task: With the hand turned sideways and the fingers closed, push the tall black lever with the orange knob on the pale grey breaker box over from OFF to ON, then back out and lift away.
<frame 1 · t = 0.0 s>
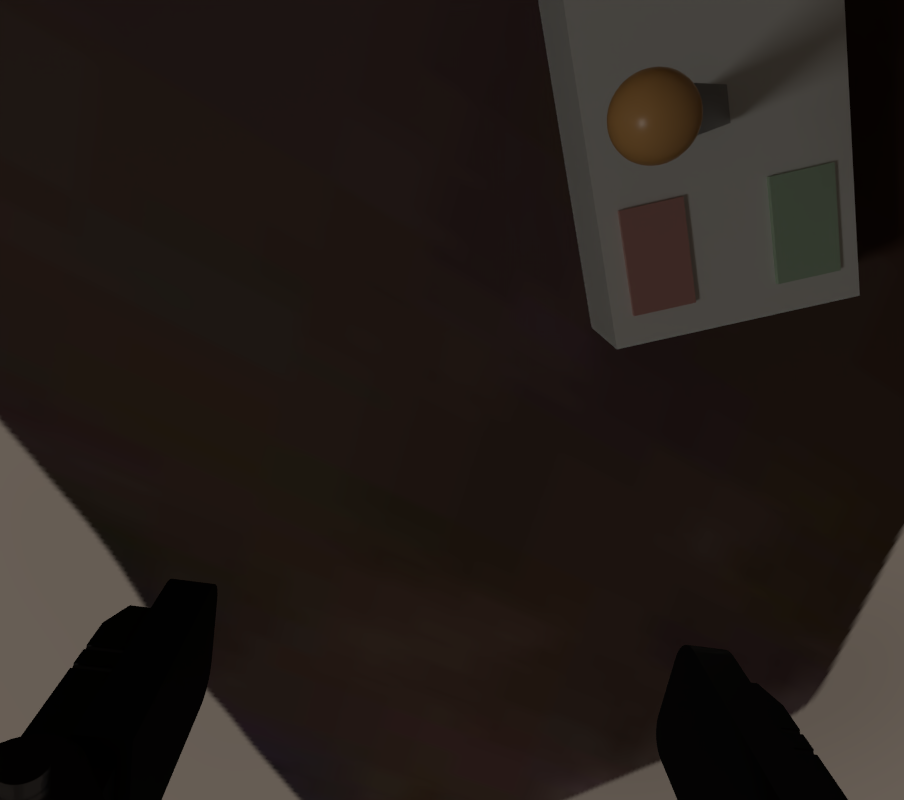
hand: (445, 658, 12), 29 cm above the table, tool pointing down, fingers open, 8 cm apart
breaker box: (674, 117, 38), on the table
breaker lever: (688, 111, 26), point 13 cm above the table, hinge at -28.0°
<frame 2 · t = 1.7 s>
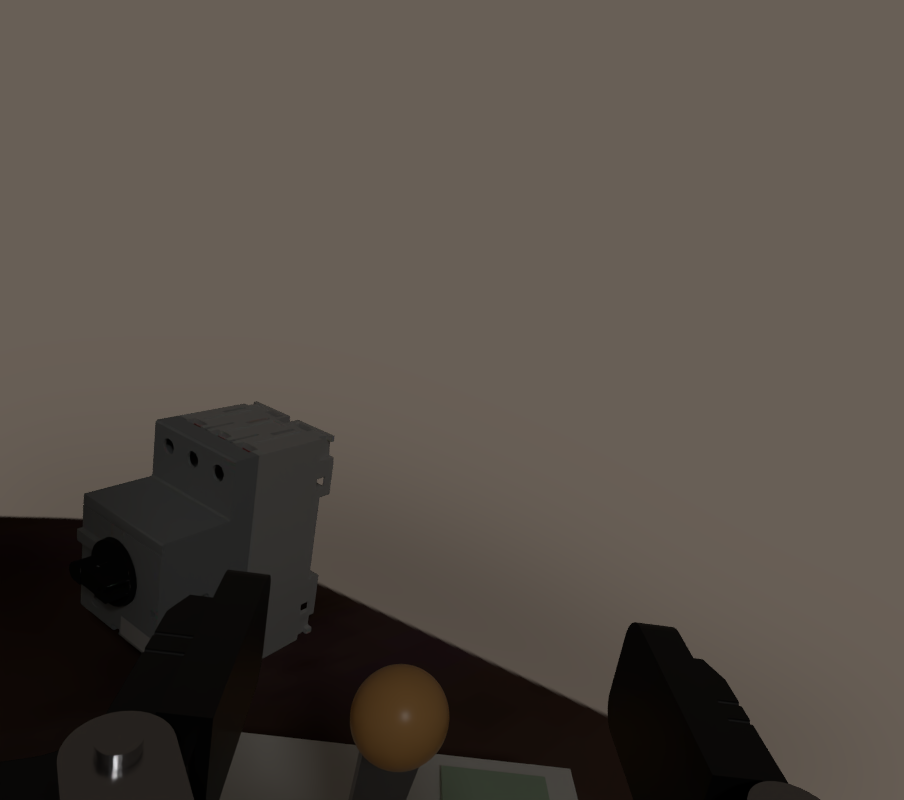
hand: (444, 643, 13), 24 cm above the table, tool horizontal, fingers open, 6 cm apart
circuit breaker: (191, 651, 48), on the table
breaker lever: (376, 793, 23), point 13 cm above the table, hinge at -28.0°
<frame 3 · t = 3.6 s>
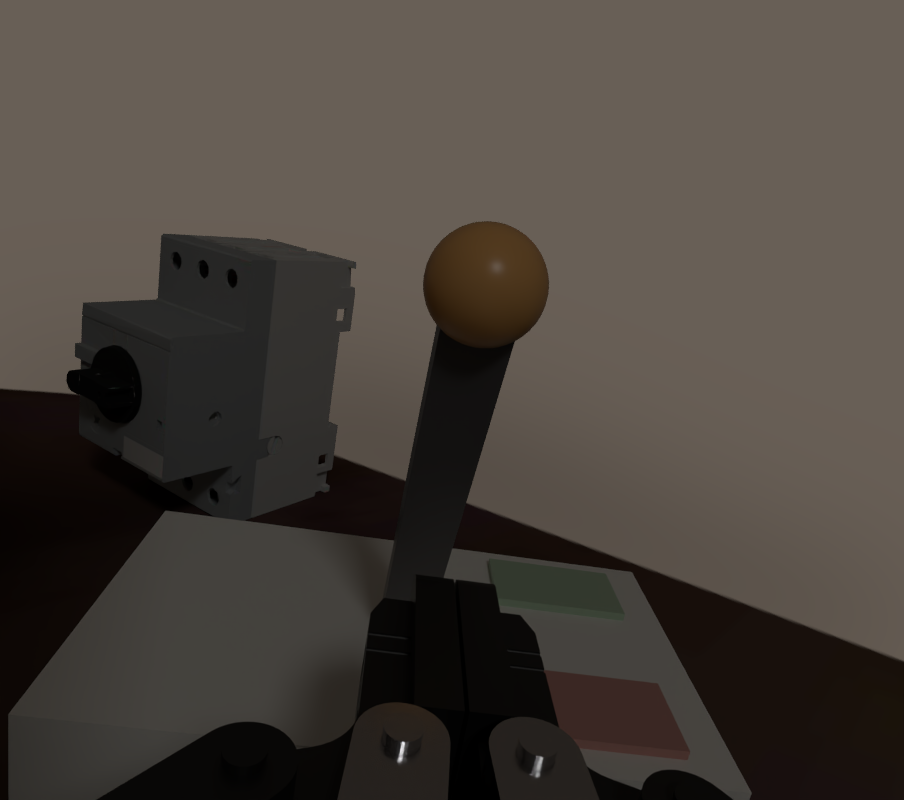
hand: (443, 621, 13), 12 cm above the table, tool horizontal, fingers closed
circuit breaker: (200, 500, 44), on the table
breaker box: (379, 753, 27), on the table
breaker lever: (438, 477, 20), point 13 cm above the table, hinge at -28.0°
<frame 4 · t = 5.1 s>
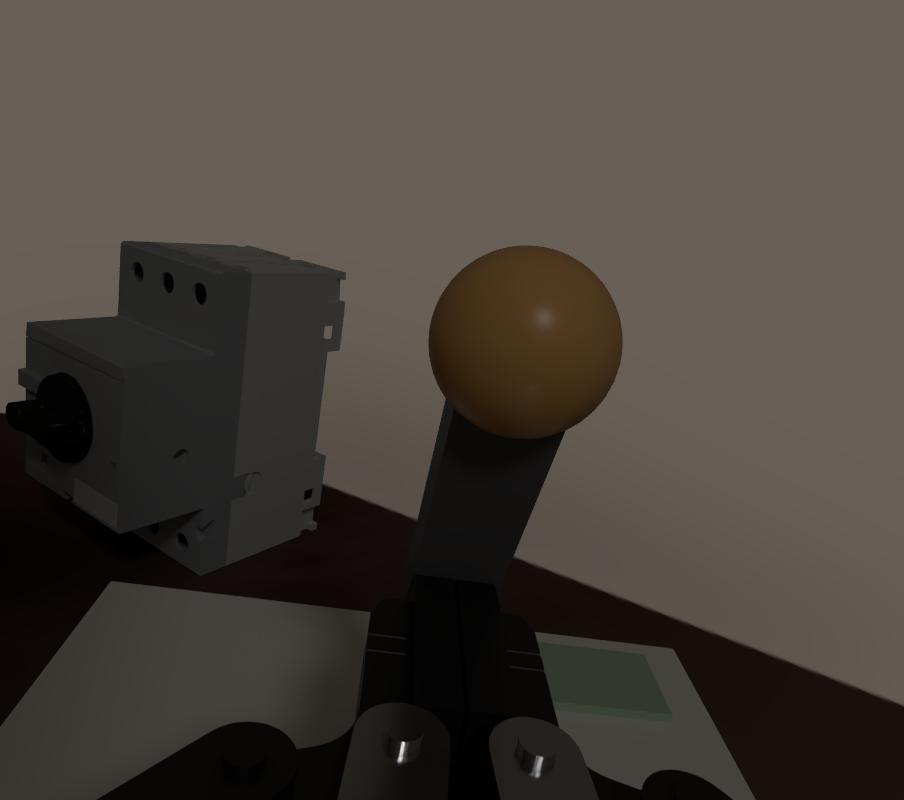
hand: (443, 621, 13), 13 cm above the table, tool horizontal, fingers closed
circuit breaker: (169, 544, 38), on the table
breaker lever: (447, 587, 14), point 13 cm above the table, hinge at -27.9°, touching gripper
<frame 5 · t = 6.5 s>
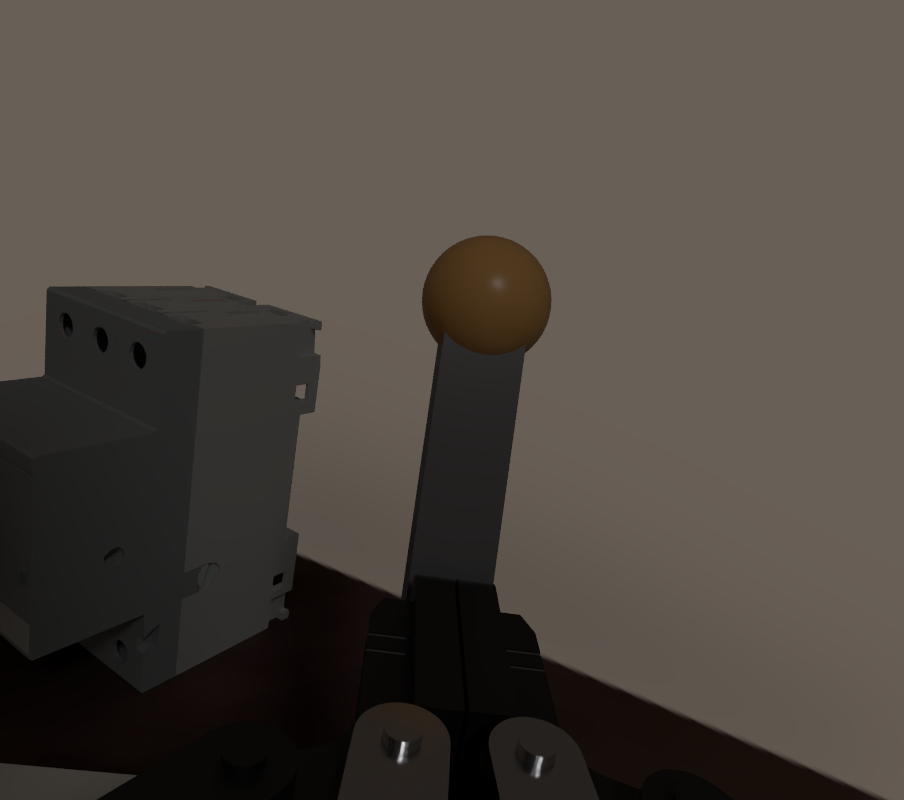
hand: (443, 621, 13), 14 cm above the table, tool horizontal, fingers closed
circuit breaker: (108, 645, 32), on the table
breaker lever: (441, 618, 14), point 13 cm above the table, hinge at 19.2°, touching gripper
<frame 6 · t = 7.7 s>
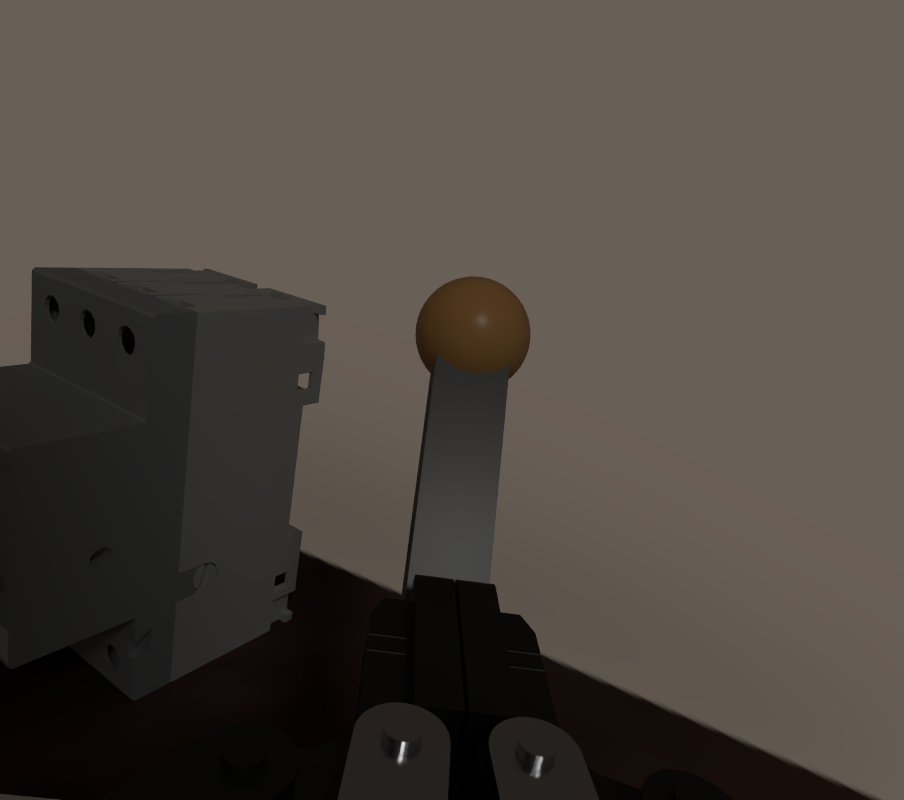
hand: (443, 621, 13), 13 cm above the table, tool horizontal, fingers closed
circuit breaker: (101, 649, 30), on the table
breaker lever: (440, 625, 14), point 12 cm above the table, hinge at 35.2°, touching gripper
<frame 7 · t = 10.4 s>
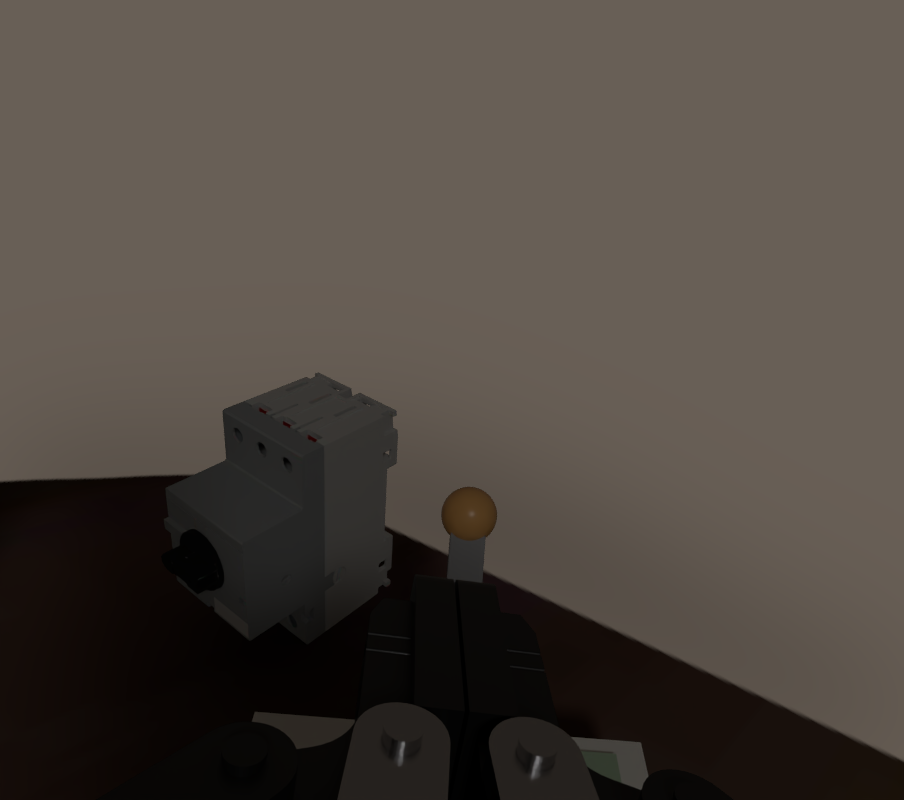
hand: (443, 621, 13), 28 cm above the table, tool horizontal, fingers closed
circuit breaker: (282, 611, 51), on the table
breaker lever: (458, 654, 33), point 12 cm above the table, hinge at 35.2°
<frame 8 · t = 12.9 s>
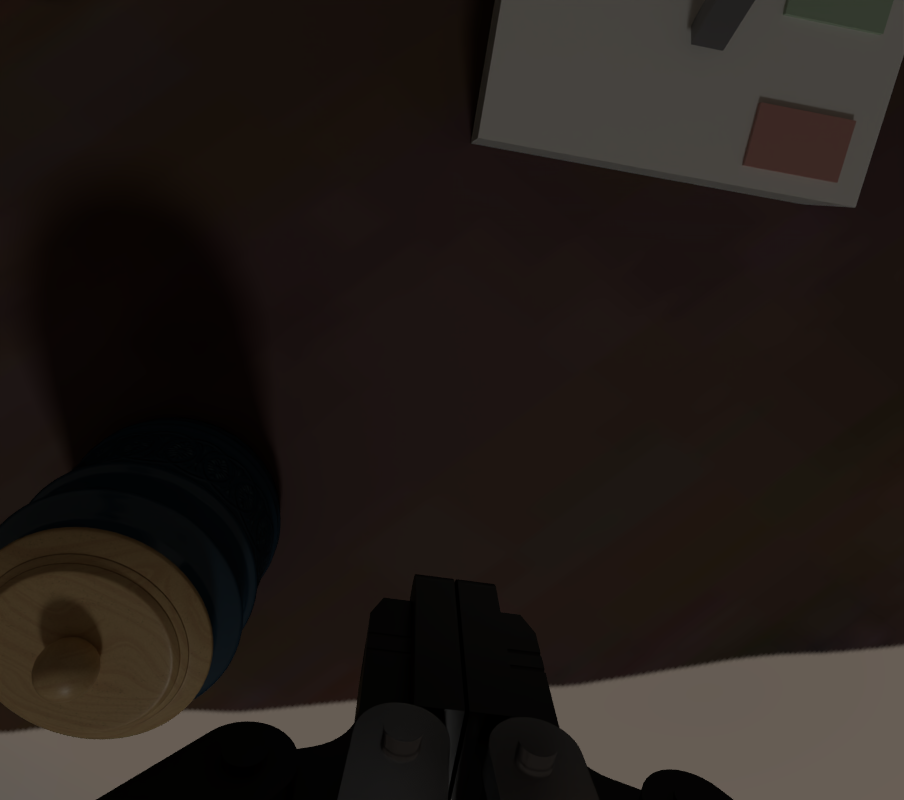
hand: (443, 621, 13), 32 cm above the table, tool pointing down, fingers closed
canister: (185, 505, 47), on the table
breaker box: (665, 63, 41), on the table
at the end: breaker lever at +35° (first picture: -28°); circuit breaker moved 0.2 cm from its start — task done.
